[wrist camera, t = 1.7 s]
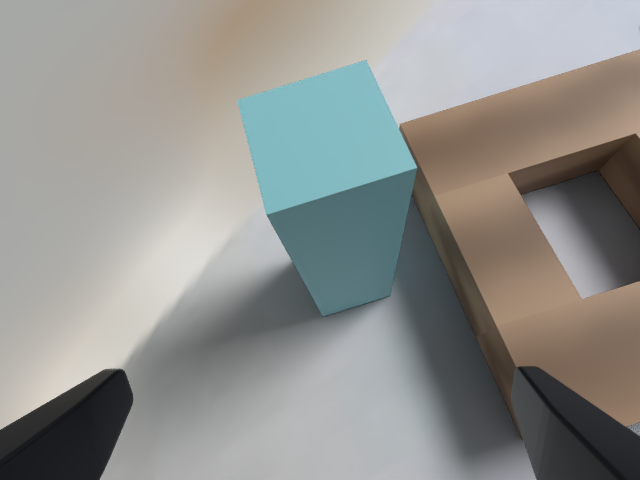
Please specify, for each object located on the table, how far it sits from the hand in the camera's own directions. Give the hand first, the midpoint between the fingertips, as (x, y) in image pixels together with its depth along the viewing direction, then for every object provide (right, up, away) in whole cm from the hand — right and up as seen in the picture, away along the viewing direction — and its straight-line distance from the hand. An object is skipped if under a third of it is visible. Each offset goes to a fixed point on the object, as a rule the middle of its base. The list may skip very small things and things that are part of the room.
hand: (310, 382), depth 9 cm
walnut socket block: (+15, +3, +13) cm, 20 cm away
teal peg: (+2, +1, +14) cm, 14 cm away
